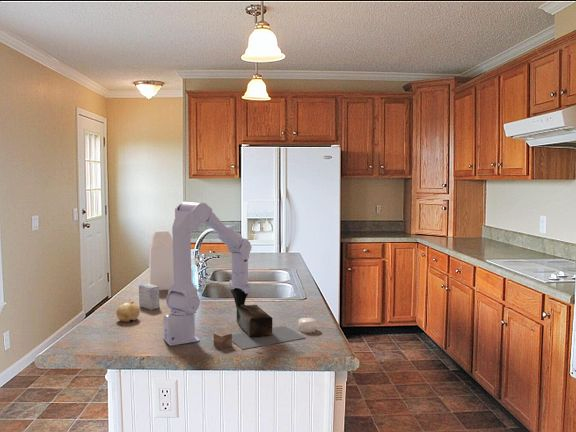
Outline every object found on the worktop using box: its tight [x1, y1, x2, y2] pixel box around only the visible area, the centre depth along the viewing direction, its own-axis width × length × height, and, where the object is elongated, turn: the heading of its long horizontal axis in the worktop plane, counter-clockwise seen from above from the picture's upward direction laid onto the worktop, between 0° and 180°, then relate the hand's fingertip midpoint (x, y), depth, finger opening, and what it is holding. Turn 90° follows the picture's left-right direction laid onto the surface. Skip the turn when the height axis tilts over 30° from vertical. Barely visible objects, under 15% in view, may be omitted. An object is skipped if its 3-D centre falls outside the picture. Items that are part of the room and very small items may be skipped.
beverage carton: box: [236, 304, 273, 337], centre depth 172 cm, size 8×19×7 cm, turn 19°
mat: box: [232, 325, 306, 350], centre depth 165 cm, size 22×14×1 cm, turn 119°
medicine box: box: [138, 283, 160, 311], centre depth 200 cm, size 8×4×9 cm, turn 47°
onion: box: [115, 299, 140, 323], centre depth 182 cm, size 8×8×7 cm
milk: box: [148, 230, 174, 291], centre depth 234 cm, size 12×12×26 cm
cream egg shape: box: [298, 317, 317, 334], centre depth 172 cm, size 6×6×4 cm
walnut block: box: [213, 330, 233, 350], centre depth 156 cm, size 4×4×4 cm
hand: (240, 309), depth 182 cm, fingers closed
